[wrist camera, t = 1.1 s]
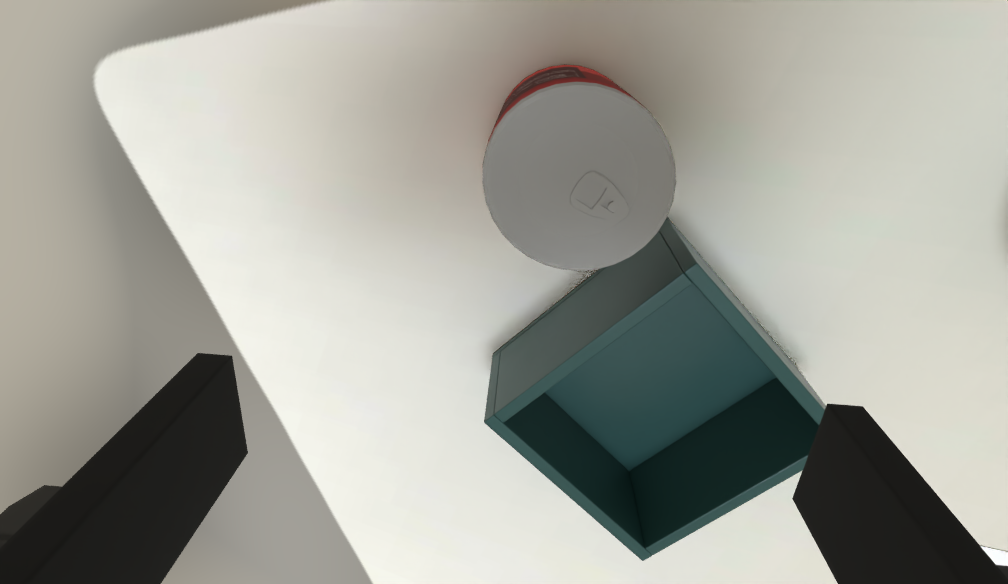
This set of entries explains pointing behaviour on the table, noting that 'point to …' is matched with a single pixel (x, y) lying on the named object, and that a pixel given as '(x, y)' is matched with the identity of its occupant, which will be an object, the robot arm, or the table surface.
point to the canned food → (577, 170)
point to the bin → (653, 397)
